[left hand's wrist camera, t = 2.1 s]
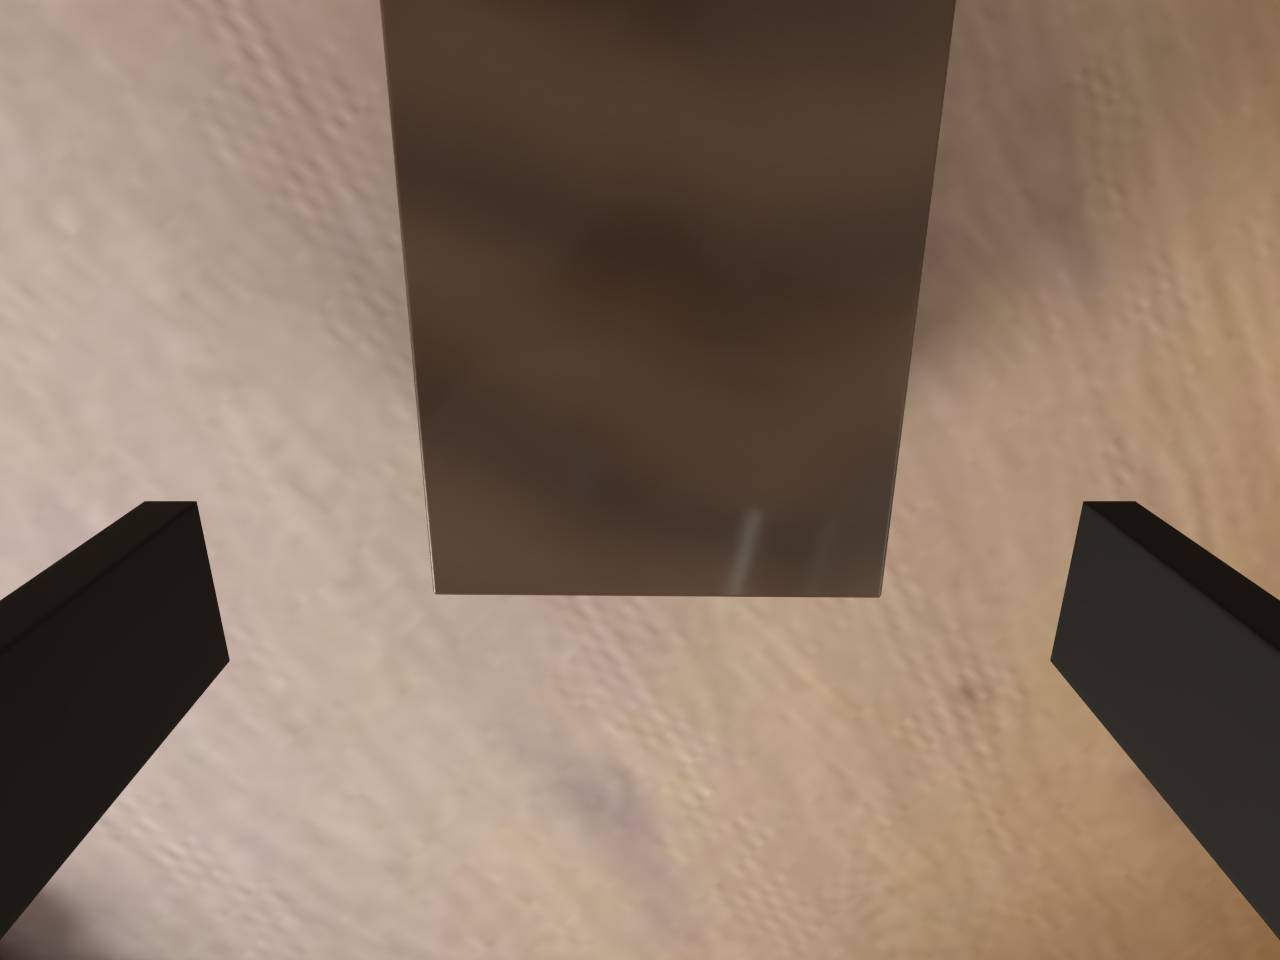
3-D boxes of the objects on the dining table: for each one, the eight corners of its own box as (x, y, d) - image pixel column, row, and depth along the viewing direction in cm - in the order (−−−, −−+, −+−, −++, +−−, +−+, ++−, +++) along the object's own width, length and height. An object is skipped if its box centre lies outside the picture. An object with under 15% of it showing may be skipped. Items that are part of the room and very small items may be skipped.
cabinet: (471, -119, 23) (349, -325, 14) (847, -115, 24) (998, -318, 14) (501, 451, 30) (432, 595, 20) (800, 454, 30) (881, 599, 20)
